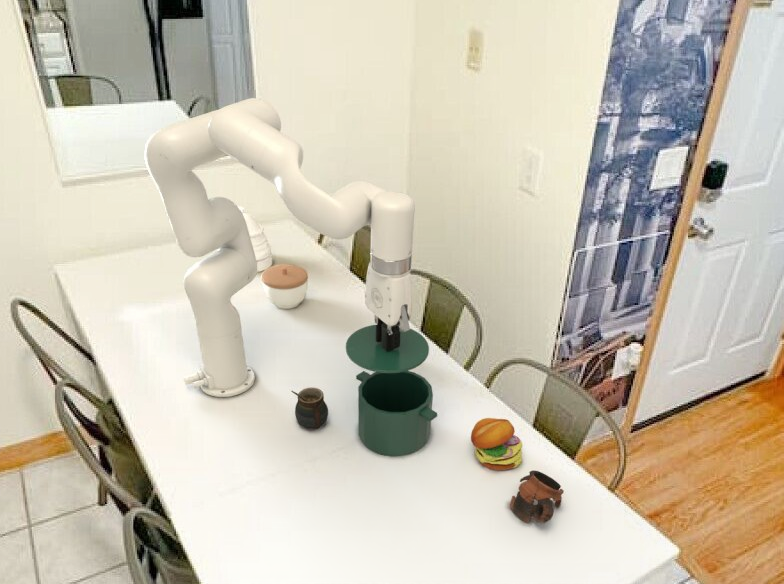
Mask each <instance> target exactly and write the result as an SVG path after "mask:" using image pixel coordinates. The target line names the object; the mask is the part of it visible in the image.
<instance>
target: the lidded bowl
mask: <svg viewBox="0 0 784 584" xmlns="http://www.w3.org/2000/svg"><path fill="white" fill-rule="evenodd" d="M308 279H309V274H308V271H307V270H306V269H305V268H303V267H301V266H300V265H296V264H276V265H273V266H270V267H269V268H268V269H266V270H263V272H262V273H261V281H262V286H263V291H264V294H265V297H266V298H267V299H268V300H269V301H270V303H272V304H273V305H274V306H275V307H276V308H278V309H282V310H289V309H295V308H297V307H298V306H299V305H300V303H302V301H303V300H304V299H305V298H306V295H307V292H308V287H309V286H308V285H309V283H308Z"/></svg>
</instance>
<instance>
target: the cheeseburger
mask: <svg viewBox="0 0 784 584" xmlns="http://www.w3.org/2000/svg"><path fill="white" fill-rule="evenodd" d="M515 431H516V430H515V427H514V424H512V423H511V421H510V420H508V419H507V418H495V417H485V418H482V419H480V420H478V421H477V422H476V423H475V424H474V427H473V428H472V430H471V432H470V433H471V434H470V442H471V443H472V445H473V446H474V448H475V449H474V454H475V457H476V458H477V460H478V461H479V462H480V463H481V465H482V466H484V467H486V468H487V469H490V470H496V471H505V470H511V469H515V468H517V467H518V466H519V465H521V464H522V461H523V456H522V455H523V454H522V453H523V452H522V449H523V442H522V440H521V439H520V437H518V436H517V435H515Z"/></svg>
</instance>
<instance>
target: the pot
mask: <svg viewBox="0 0 784 584" xmlns="http://www.w3.org/2000/svg"><path fill="white" fill-rule="evenodd" d="M355 380H357V381H359V382H360V384H359V385H358V388H357V391H358V393H357V399H358V401H357V403H358V437H359V440H360V441H361V443H362V445H364V447H365V448H367V449H368V450H369V451H371V452H373V453H375V454H378V455H381V456H386V457H404V456H408V455H411V454H414V453H416V452H418V451H420V450H421V449H422V448H424V447H425V445H427V443H428V441H429V438H430V435H431V427H432V426H431V425H432V421H433V420H434V419H436V418H437V417H438V412H437V411H436V410H434V409H433V401H434V394H433V386H432V384H431V383H430V382H429V381H428V379H426V378H425V377H424V376H422V375H420V374H419V373H416V372H415V371H411V370H408V371H404V372H399V373H379V372H374V371H373V373H371V374H370V373H369V372H367V371H365V370H363V371H361V372H360V373H358V374H356V375H355Z"/></svg>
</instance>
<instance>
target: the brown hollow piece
mask: <svg viewBox="0 0 784 584" xmlns="http://www.w3.org/2000/svg"><path fill="white" fill-rule="evenodd" d="M528 473H529V474H528V475H525V476H523V477H522V478H520V480H519V483H520V484H519V485H518V491H517V493H516V495H512V496H511V498H510V504H509V508H510V510H511V511H512V513H513V514H514V515H515V516H516V517H517V518H519V520H521V521H522V522H524V523H527V524H529V523H530V521H531V519H533V521H534V522H536V523H540V524H545V523H548V522H549V521H550V520H551V519H552V518H553V515H554V510H555V509H554V505H555V506H556V507H557V508H560V507H561V505H562V499H563V497H562V495H563V494H564V489H563V488H561V487H562V485H561V484H560V483H559V482H558V481H557V480H555V479H554V478H552V477H551V476H549V475H547V474H545V473H544V472H541V471H539V470H535V469H534V470H530V471H529V472H528ZM535 501H537V503H536V504H535Z"/></svg>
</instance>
